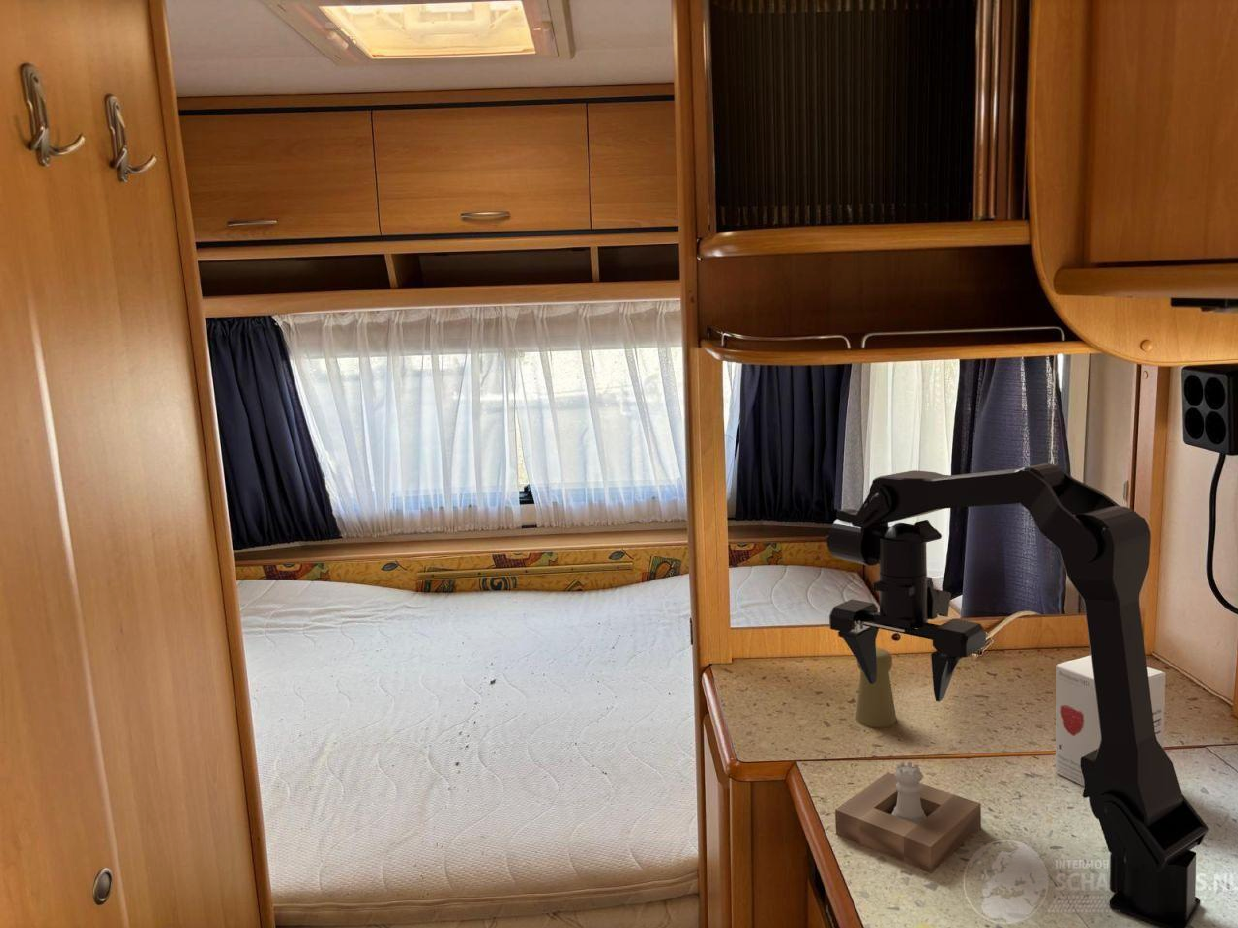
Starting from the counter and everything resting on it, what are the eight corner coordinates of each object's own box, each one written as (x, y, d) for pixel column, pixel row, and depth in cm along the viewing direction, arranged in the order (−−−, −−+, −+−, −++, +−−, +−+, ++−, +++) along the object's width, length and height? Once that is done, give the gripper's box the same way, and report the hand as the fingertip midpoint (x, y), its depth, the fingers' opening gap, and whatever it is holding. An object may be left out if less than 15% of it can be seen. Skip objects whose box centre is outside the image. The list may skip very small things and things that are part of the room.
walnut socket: (980, 827, 104) (980, 803, 103) (931, 872, 95) (930, 846, 95) (888, 794, 112) (887, 771, 112) (835, 833, 104) (834, 809, 104)
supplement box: (1052, 773, 115) (1052, 663, 113) (1100, 756, 119) (1101, 649, 117) (1116, 804, 107) (1118, 685, 105) (1165, 785, 110) (1167, 670, 108)
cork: (865, 729, 131) (863, 658, 130) (848, 713, 137) (846, 645, 136) (903, 724, 132) (902, 653, 131) (885, 708, 138) (883, 641, 137)
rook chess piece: (897, 816, 107) (896, 754, 106) (934, 827, 104) (933, 763, 103) (883, 834, 103) (882, 770, 102) (921, 845, 101) (920, 779, 100)
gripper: (1005, 568, 109) (1006, 689, 111) (870, 550, 122) (873, 658, 124) (963, 589, 101) (965, 718, 103) (824, 567, 115) (828, 681, 117)
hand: (905, 691), depth 112 cm, fingers open, 9 cm apart
